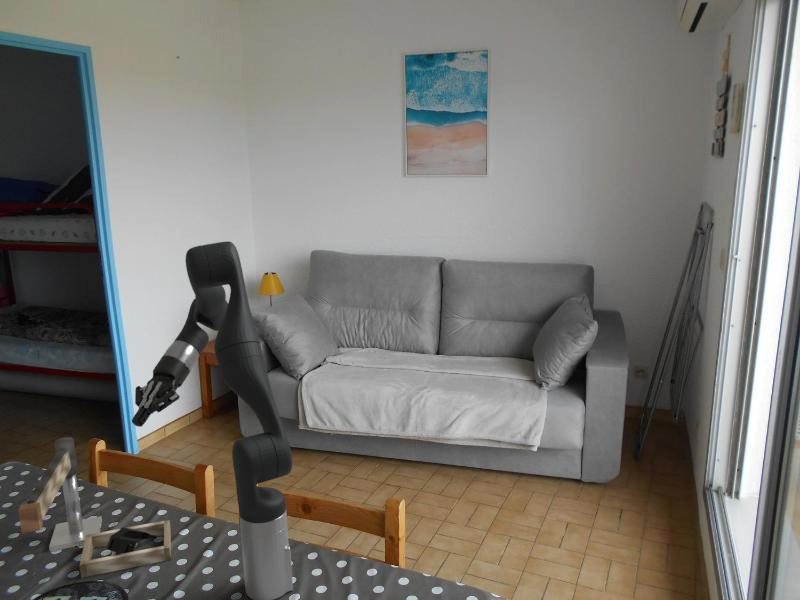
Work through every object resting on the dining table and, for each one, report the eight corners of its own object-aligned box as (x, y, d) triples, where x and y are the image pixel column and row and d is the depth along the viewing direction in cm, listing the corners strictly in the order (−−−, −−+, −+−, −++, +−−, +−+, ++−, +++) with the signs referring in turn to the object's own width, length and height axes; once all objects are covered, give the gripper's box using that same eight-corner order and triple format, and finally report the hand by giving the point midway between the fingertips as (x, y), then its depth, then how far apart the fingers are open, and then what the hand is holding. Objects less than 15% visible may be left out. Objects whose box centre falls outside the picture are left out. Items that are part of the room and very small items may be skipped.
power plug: (165, 536, 151) (126, 530, 141) (153, 570, 149) (112, 566, 139) (148, 530, 154) (109, 524, 144) (136, 564, 151) (95, 559, 141)
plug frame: (170, 531, 155) (169, 519, 154) (170, 559, 144) (169, 547, 143) (87, 546, 149) (86, 534, 149) (81, 577, 138) (79, 565, 138)
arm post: (102, 520, 160) (94, 461, 157) (97, 542, 151) (89, 480, 148) (56, 528, 157) (48, 468, 154) (49, 551, 148) (40, 488, 144)
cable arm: (61, 470, 152) (56, 438, 150) (79, 468, 153) (75, 436, 151) (20, 540, 124) (14, 502, 122) (43, 537, 125) (37, 499, 123)
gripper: (148, 352, 159) (106, 412, 148) (188, 355, 152) (147, 418, 142) (165, 371, 163) (126, 430, 153) (205, 375, 157) (166, 436, 147)
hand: (136, 424), depth 148 cm, fingers closed
